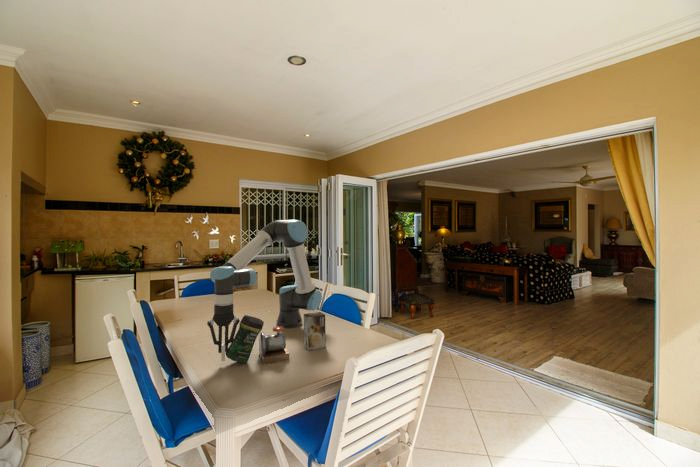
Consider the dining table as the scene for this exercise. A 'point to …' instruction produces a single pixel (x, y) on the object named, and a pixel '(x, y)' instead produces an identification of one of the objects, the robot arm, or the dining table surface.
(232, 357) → the coffee jar
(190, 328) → the dining table surface
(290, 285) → the robot arm
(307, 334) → the coffee box
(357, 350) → the dining table surface
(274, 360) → the valve stub
